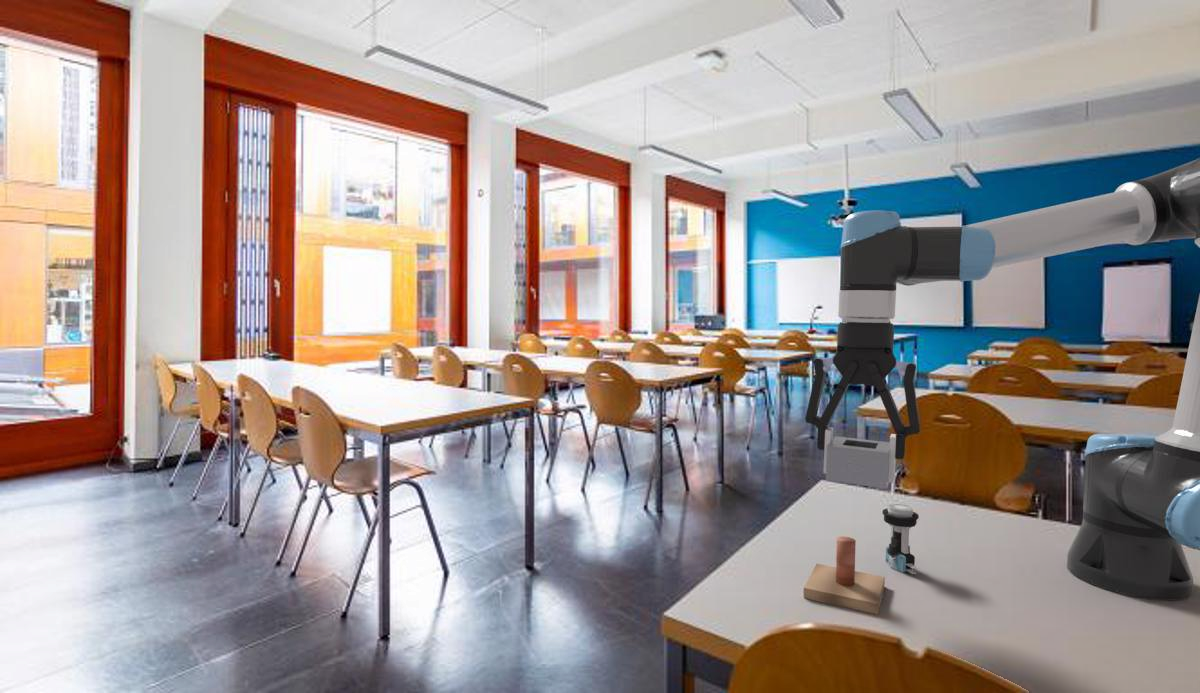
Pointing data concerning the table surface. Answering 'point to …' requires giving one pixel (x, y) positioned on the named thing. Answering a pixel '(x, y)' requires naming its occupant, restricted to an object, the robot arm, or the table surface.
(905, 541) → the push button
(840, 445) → the grey slotted box
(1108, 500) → the robot arm
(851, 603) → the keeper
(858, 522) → the table surface
